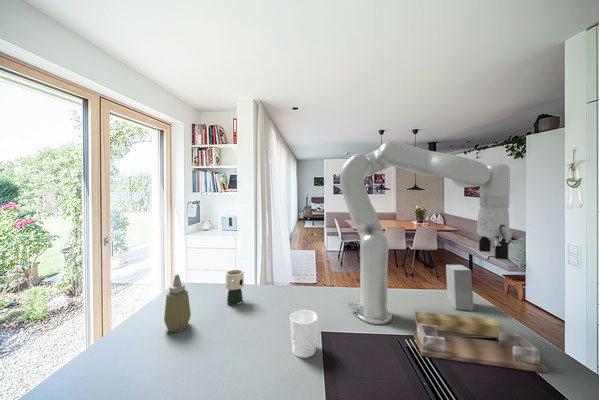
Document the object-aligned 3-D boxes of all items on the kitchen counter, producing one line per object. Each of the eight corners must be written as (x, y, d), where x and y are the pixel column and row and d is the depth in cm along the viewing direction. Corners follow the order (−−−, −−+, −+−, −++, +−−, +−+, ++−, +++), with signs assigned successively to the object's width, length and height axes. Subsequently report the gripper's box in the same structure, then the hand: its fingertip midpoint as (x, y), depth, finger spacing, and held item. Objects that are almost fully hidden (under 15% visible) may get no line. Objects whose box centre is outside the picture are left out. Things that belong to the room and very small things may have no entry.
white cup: (309, 363, 65) (309, 326, 64) (284, 353, 69) (284, 318, 68) (322, 347, 71) (322, 314, 71) (299, 339, 75) (299, 307, 75)
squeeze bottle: (196, 324, 84) (195, 273, 83) (175, 337, 76) (174, 280, 76) (179, 319, 87) (179, 269, 87) (158, 331, 80) (157, 277, 79)
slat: (417, 328, 82) (418, 317, 81) (415, 322, 86) (415, 311, 85) (500, 338, 76) (500, 325, 76) (493, 331, 80) (493, 319, 80)
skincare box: (473, 311, 93) (474, 270, 92) (453, 309, 94) (453, 269, 94) (463, 301, 101) (464, 264, 101) (444, 300, 102) (445, 263, 102)
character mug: (242, 309, 95) (241, 276, 95) (223, 309, 94) (223, 276, 94) (245, 297, 106) (245, 267, 105) (228, 297, 105) (228, 268, 105)
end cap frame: (421, 355, 68) (421, 339, 67) (413, 335, 77) (413, 320, 77) (546, 373, 61) (547, 354, 61) (520, 348, 71) (520, 332, 71)
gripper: (468, 201, 88) (467, 248, 89) (495, 203, 71) (494, 261, 72) (492, 201, 86) (491, 249, 87) (525, 204, 70) (524, 263, 70)
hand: (492, 254), depth 79 cm, fingers open, 9 cm apart
